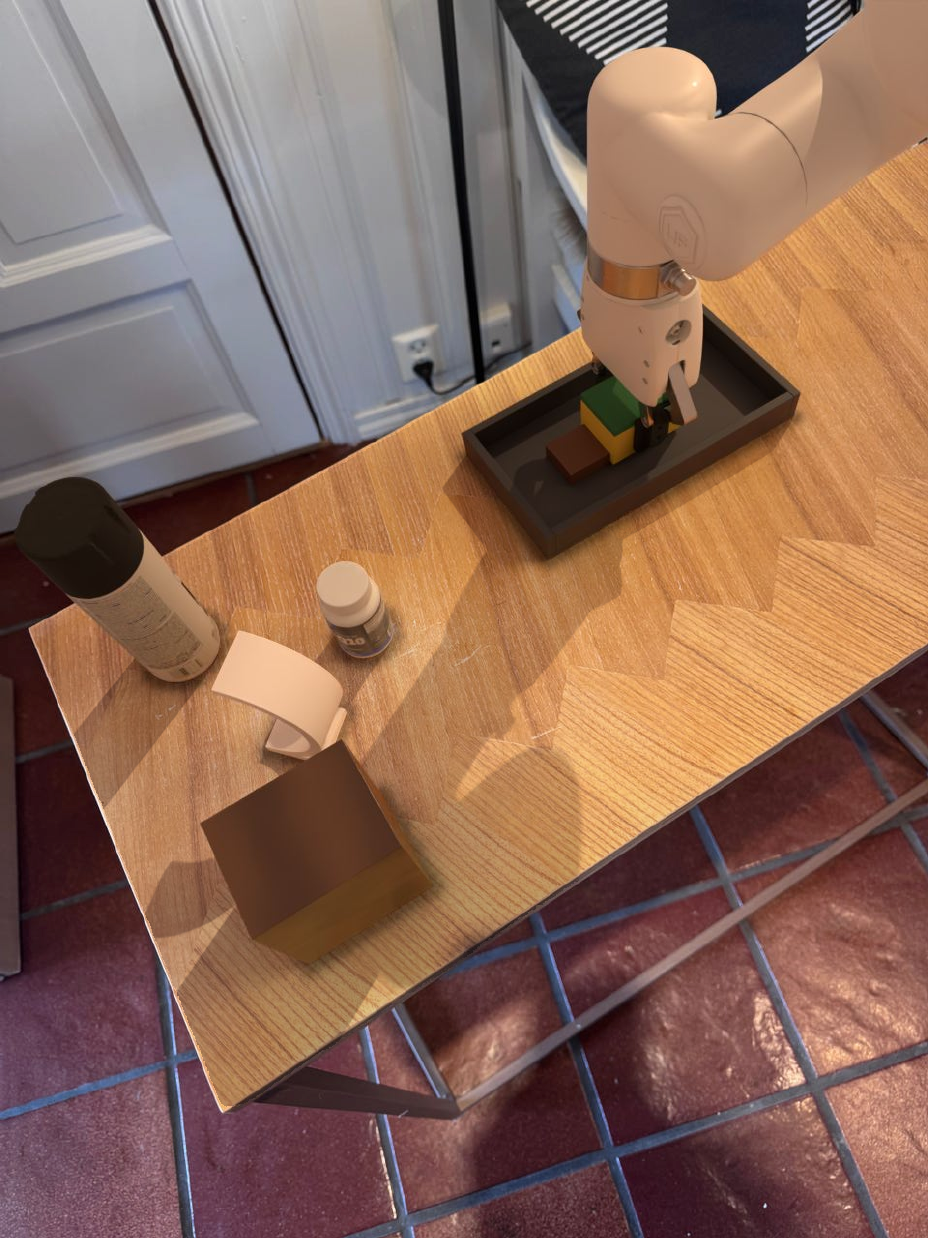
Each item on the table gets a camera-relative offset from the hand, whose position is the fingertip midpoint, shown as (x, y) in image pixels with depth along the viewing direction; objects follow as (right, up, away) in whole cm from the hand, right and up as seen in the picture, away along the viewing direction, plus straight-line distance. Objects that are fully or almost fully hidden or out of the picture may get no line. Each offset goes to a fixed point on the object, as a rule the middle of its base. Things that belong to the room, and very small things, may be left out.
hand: (630, 421), depth 77 cm
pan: (0, -1, +2) cm, 2 cm away
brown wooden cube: (-23, -36, -13) cm, 45 cm away
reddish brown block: (-5, -3, 0) cm, 6 cm away
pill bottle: (-23, -19, -4) cm, 29 cm away
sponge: (0, 0, +1) cm, 1 cm away
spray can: (-38, -20, -3) cm, 43 cm away
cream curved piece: (-26, -26, -8) cm, 38 cm away
